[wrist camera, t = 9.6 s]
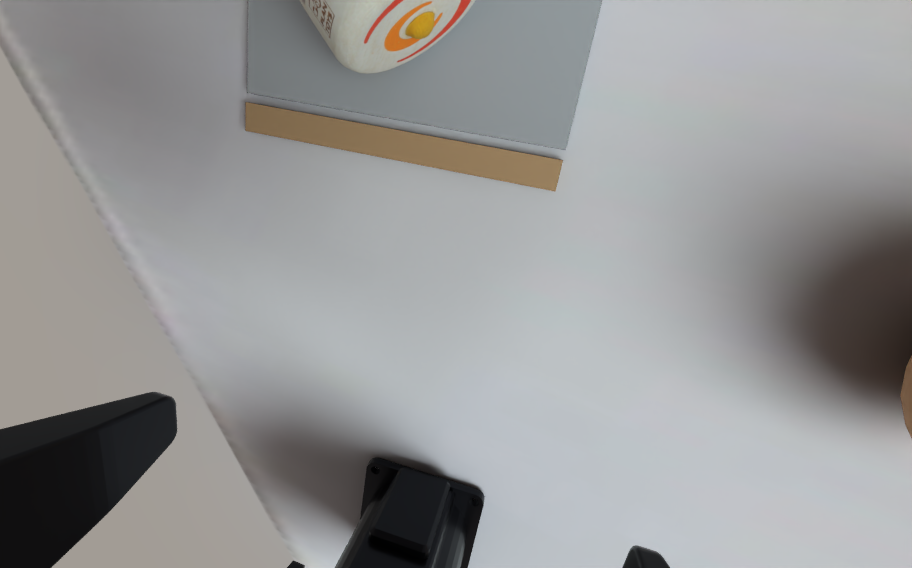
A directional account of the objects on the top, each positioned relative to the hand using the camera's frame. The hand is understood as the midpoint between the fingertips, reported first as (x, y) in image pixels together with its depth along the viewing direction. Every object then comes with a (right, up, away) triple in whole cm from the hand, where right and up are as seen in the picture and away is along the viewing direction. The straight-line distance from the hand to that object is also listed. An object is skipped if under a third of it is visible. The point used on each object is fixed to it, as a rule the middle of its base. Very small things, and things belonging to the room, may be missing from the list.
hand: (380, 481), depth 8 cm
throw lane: (0, +15, +8) cm, 17 cm away
